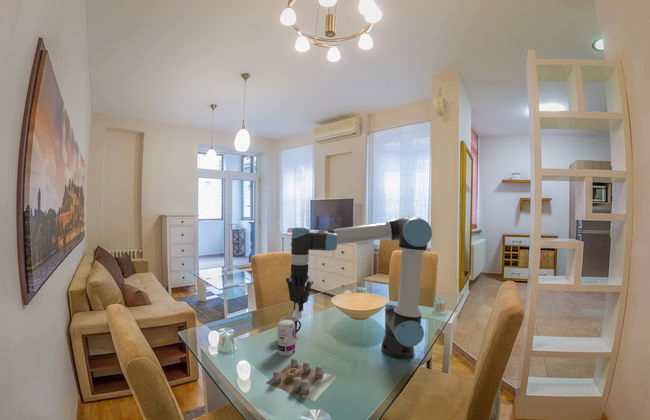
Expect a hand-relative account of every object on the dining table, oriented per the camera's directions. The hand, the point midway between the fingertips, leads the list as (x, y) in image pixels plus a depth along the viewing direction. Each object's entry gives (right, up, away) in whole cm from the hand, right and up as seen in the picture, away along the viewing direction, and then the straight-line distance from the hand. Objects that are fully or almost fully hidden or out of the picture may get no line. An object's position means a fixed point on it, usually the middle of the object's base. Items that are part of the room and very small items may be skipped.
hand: (298, 318), depth 126 cm
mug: (-6, -21, +29) cm, 36 cm away
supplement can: (-7, -21, +12) cm, 25 cm away
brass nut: (-1, -20, -9) cm, 22 cm away
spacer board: (+2, -21, -11) cm, 24 cm away
